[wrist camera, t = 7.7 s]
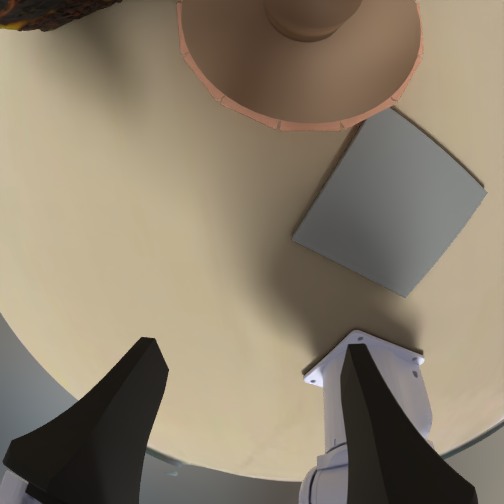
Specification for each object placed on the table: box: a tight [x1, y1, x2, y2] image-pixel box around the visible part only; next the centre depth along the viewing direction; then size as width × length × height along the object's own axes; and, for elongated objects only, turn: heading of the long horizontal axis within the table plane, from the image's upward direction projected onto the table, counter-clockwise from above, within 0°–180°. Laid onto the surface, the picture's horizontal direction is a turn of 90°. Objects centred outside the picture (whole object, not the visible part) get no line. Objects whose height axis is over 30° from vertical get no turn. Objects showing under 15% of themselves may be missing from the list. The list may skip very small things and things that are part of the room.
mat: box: [291, 107, 487, 298], centre depth 17 cm, size 10×10×1 cm
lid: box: [181, 0, 421, 123], centre depth 8 cm, size 10×10×5 cm
